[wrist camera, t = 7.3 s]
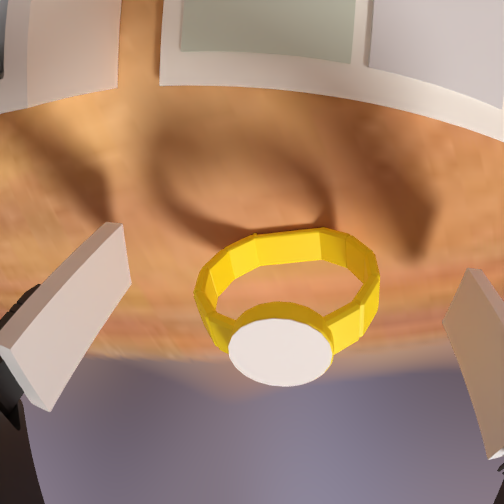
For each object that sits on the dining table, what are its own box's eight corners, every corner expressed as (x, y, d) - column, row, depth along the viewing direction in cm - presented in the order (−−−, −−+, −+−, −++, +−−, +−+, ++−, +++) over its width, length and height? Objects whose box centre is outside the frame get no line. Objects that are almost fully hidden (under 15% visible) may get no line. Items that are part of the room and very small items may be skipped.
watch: (229, 275, 14) (185, 382, 10) (215, 218, 13) (152, 318, 8) (367, 268, 13) (384, 386, 8) (366, 206, 12) (395, 313, 7)
